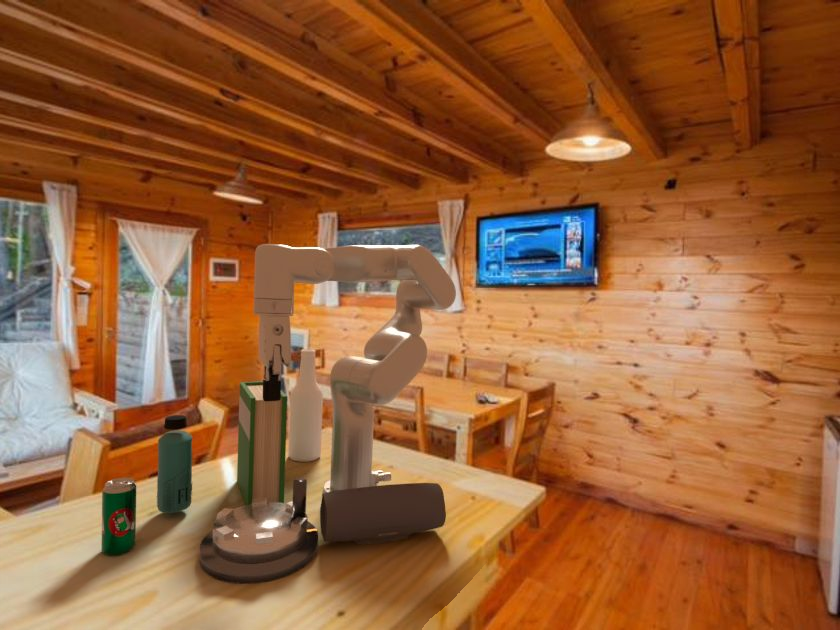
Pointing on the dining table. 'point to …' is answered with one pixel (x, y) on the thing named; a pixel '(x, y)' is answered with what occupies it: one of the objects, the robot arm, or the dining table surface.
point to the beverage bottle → (174, 467)
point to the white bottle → (306, 412)
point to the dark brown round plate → (257, 571)
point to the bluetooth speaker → (381, 512)
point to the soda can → (118, 516)
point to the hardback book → (261, 444)
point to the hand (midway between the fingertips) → (271, 399)
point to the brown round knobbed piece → (262, 528)
